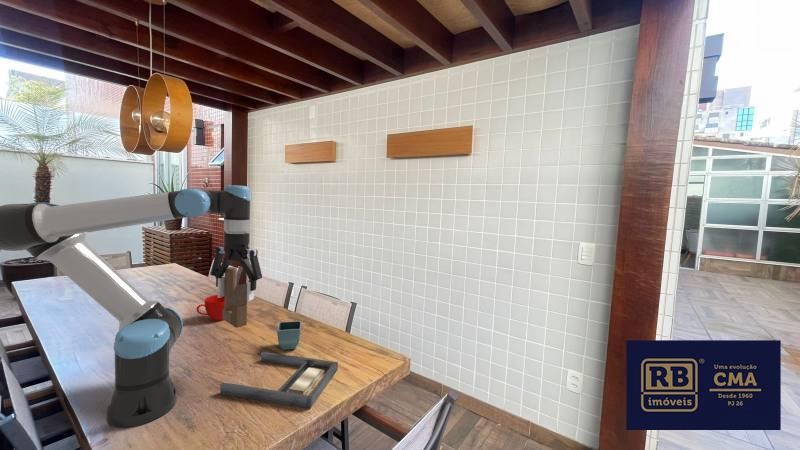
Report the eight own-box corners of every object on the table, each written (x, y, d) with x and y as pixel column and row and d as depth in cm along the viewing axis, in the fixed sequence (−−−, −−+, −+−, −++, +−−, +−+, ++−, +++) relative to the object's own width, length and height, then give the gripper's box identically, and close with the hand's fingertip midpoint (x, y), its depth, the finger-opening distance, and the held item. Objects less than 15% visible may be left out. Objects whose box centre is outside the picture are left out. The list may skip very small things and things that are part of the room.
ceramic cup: (190, 321, 152) (190, 300, 151) (226, 311, 166) (226, 292, 165) (203, 328, 144) (204, 306, 144) (240, 318, 159) (240, 298, 158)
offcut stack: (302, 401, 97) (303, 391, 97) (287, 398, 98) (287, 389, 98) (324, 374, 113) (324, 365, 113) (311, 372, 114) (311, 363, 114)
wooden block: (235, 328, 104) (236, 273, 103) (222, 319, 111) (222, 267, 110) (247, 325, 107) (248, 271, 106) (233, 316, 114) (233, 266, 113)
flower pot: (276, 352, 125) (276, 330, 125) (278, 343, 134) (279, 321, 133) (300, 351, 128) (300, 329, 127) (300, 341, 136) (301, 320, 136)
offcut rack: (310, 408, 93) (310, 398, 93) (220, 394, 98) (220, 384, 98) (337, 370, 115) (337, 362, 115) (262, 359, 120) (262, 351, 119)
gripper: (274, 233, 109) (273, 298, 110) (214, 229, 112) (213, 291, 114) (261, 235, 101) (260, 305, 103) (197, 230, 105) (197, 298, 107)
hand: (235, 298), depth 109 cm, fingers closed on wooden block, 10 cm apart
